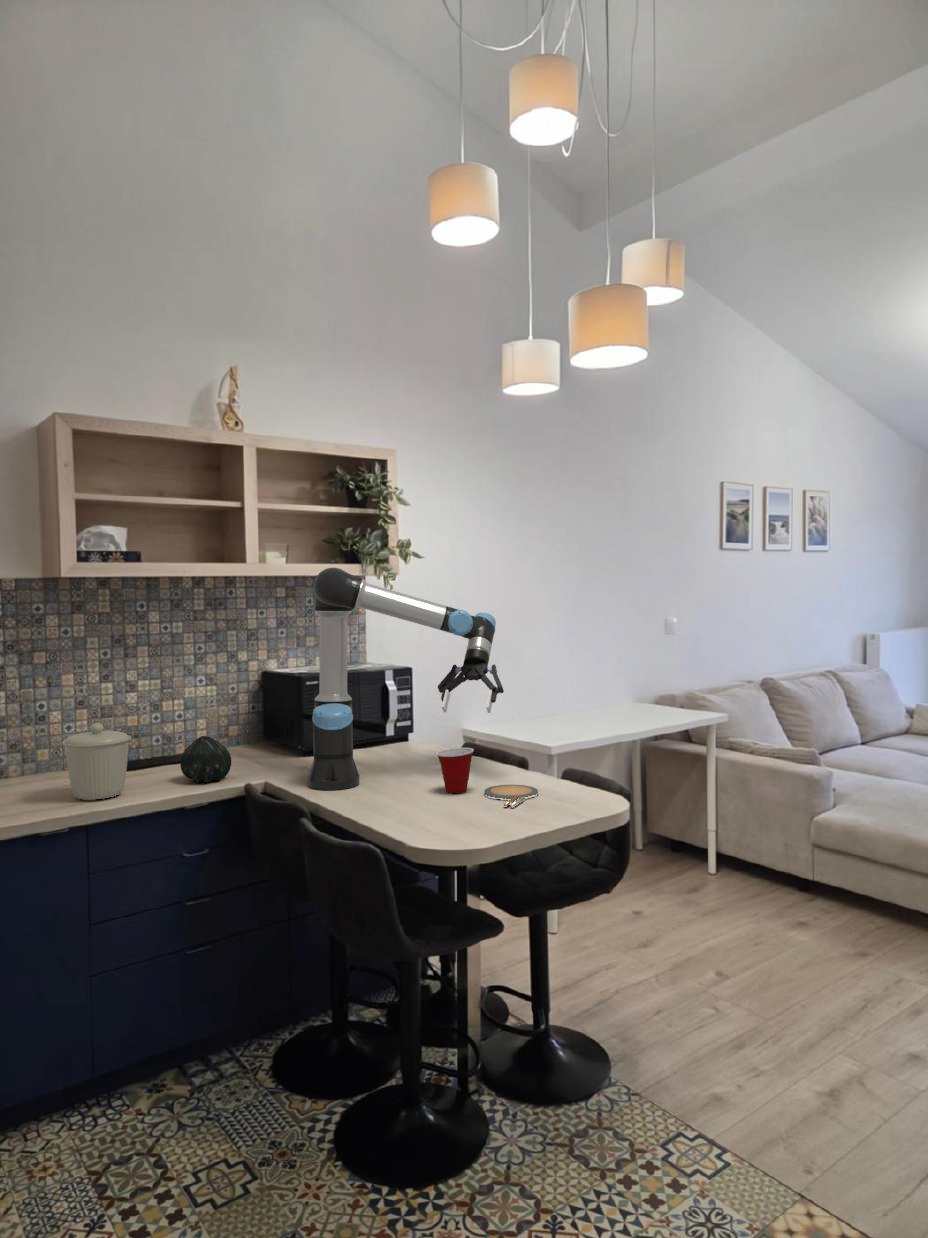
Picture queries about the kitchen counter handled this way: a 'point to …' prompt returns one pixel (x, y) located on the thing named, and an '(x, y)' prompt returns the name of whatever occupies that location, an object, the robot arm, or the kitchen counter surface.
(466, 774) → the plastic cup
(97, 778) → the canister
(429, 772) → the kitchen counter surface
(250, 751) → the kitchen counter surface
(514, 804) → the wire stubs
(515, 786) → the coaster
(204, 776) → the squash
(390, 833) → the kitchen counter surface
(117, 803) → the kitchen counter surface
